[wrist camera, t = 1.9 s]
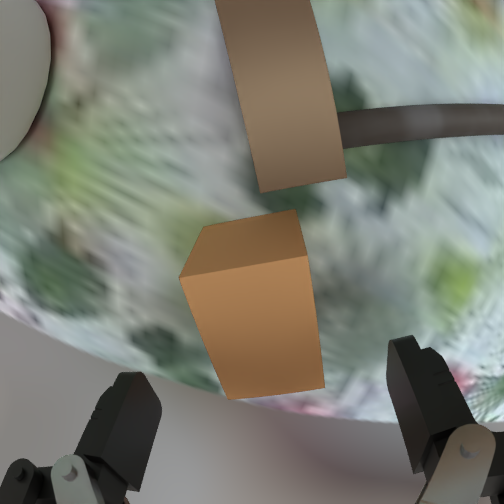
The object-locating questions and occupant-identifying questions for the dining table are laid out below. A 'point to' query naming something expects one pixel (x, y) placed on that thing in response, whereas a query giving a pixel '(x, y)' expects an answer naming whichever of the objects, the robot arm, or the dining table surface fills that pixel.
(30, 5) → the mug
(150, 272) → the dining table surface
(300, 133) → the shelf
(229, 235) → the tall cardboard carton
